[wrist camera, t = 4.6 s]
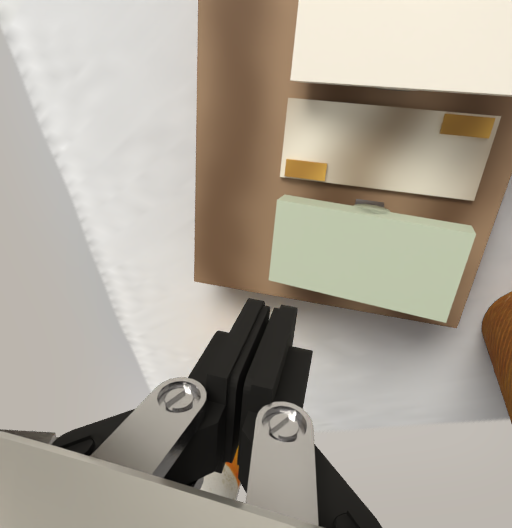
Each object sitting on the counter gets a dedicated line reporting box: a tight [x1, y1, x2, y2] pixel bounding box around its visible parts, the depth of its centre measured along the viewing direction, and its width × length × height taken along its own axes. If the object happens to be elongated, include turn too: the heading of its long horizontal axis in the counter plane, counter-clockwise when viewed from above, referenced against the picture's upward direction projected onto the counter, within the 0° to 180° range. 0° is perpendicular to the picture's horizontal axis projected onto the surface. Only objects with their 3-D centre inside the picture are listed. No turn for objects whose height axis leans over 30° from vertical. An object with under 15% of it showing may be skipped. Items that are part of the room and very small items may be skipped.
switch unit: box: [194, 0, 512, 328], centre depth 23 cm, size 18×20×5 cm
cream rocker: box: [290, 0, 512, 97], centre depth 17 cm, size 10×5×2 cm, turn 84°
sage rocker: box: [269, 195, 476, 323], centre depth 21 cm, size 10×5×2 cm, turn 85°
